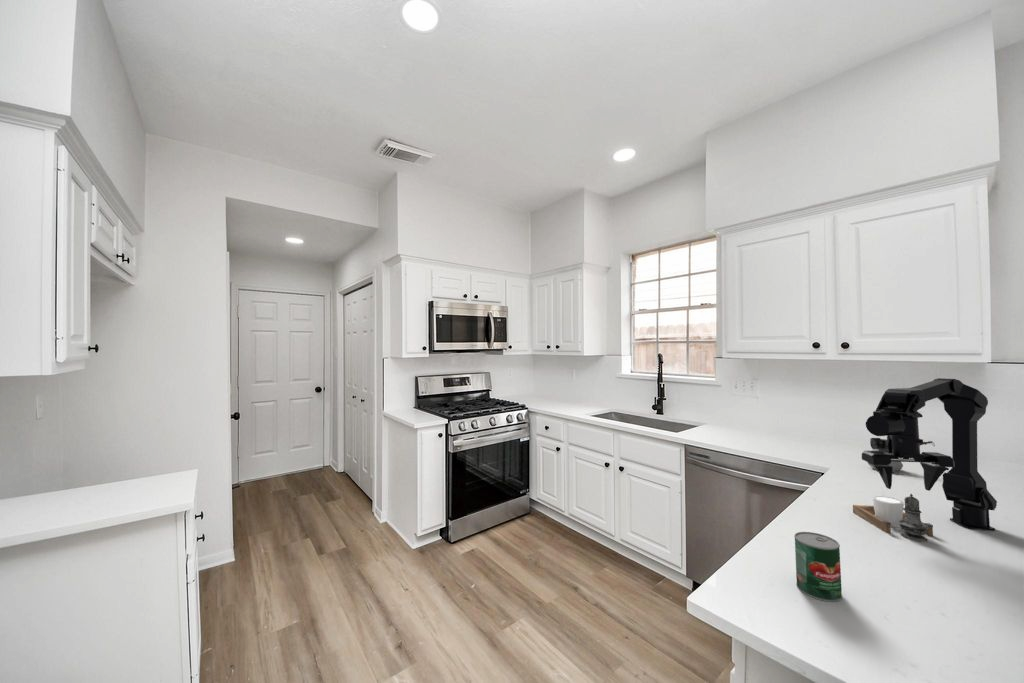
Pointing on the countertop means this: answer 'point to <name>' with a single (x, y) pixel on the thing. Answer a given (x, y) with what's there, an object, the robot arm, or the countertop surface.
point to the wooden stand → (869, 516)
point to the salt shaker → (913, 521)
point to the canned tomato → (818, 566)
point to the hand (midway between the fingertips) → (907, 489)
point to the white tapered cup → (888, 509)
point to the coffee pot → (897, 465)
